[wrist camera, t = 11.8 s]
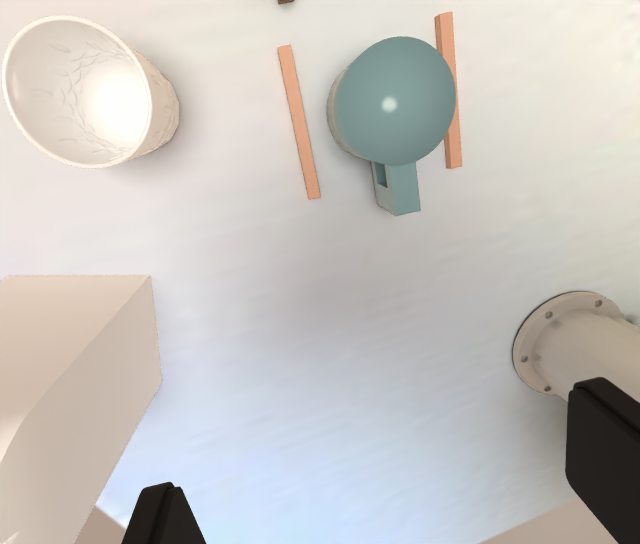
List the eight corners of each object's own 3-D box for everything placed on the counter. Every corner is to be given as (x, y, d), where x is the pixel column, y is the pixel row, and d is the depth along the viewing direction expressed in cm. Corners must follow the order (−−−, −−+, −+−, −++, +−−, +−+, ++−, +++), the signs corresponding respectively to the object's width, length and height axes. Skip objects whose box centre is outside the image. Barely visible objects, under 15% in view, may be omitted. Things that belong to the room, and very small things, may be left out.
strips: (446, 15, 31) (452, 11, 30) (457, 165, 35) (462, 166, 35) (277, 49, 31) (277, 47, 30) (308, 198, 35) (309, 199, 34)
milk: (150, 275, 36) (-113, 575, 11) (162, 380, 40) (-16, 773, 15) (9, 275, 34) (-634, 618, 10) (36, 384, 38) (-382, 825, 14)
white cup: (80, 44, 29) (-11, 2, 20) (188, 60, 30) (150, 27, 21) (88, 152, 32) (11, 160, 22) (187, 163, 33) (153, 175, 24)
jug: (412, 49, 32) (451, 25, 25) (426, 190, 36) (463, 204, 29) (318, 68, 32) (330, 50, 25) (343, 208, 36) (360, 227, 29)
